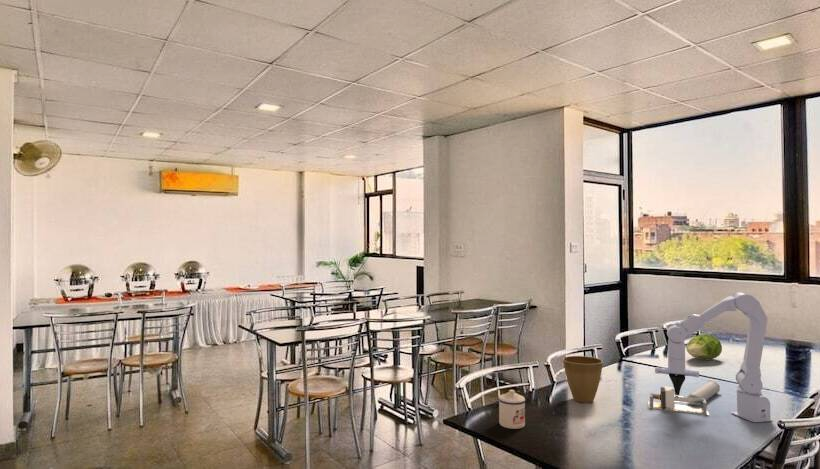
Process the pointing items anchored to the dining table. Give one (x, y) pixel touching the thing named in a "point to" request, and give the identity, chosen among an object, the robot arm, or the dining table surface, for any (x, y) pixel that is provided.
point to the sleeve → (669, 397)
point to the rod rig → (680, 407)
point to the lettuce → (704, 347)
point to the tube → (705, 391)
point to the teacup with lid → (512, 410)
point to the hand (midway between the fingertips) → (677, 394)
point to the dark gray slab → (663, 398)
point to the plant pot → (583, 377)
